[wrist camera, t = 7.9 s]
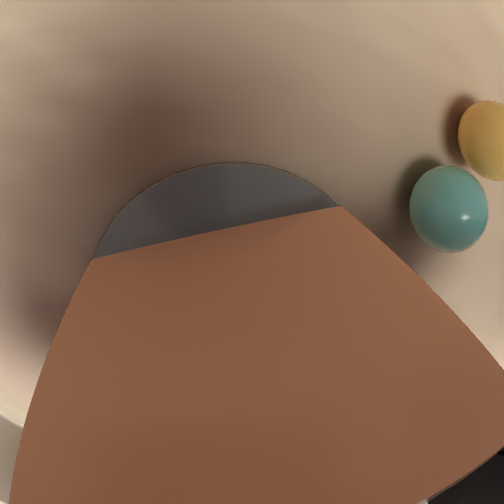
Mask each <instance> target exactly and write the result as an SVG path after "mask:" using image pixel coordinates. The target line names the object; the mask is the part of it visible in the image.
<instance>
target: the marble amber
mask: <svg viewBox="0 0 504 504" xmlns="http://www.w3.org/2000/svg"><path fill="white" fill-rule="evenodd" d="M458 142H459V146H460V150H461V152H462V155H463V157H464V159H465V160H466V162H467V163H468V165H469V166H470V167H471V168H472V169H473V170H474V171H475V172H476V173H477V174H479V175H480V176H482V177H484V178H486V179H489V180H493V181H504V104H502V103H499V102H496V101H490V100H485V101H480V102H477V103H475V104H473V105H471V106H470V107H469V108H468V109H467V110H466V111H465V112H464V114H463V115H462V117H461V120H460V123H459V127H458Z"/></svg>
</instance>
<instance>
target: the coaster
mask: <svg viewBox="0 0 504 504" xmlns="http://www.w3.org/2000/svg"><path fill="white" fill-rule="evenodd" d="M336 206H338V205H337V204H336V203H335V202H334V201H333V200H332V199H331V198H330V197H329V196H328V195H326V194H325V193H324V192H323V191H321V190H320V189H318V188H317V187H315V186H314V185H313V184H311V183H310V182H308V181H307V180H304V179H302V178H300V177H298V176H296V175H294V174H292V173H289V172H287V171H284V170H280V169H277V168H273V167H270V166H265V165H259V164H252V163H217V164H210V165H203V166H198V167H194V168H191V169H187V170H184V171H181V172H177V173H175V174H173V175H171V176H169V177H166V178H164V179H162V180H160V181H158V182H156V183H154V184H153V185H151V186H150V187H148V188H147V189H145V190H144V191H142V192H141V193H139V194H138V195H137V196H135V197H134V198H133V199H132V200H131V201H130V202H129V203H128V204H127V205H125V206H124V207H123V208H122V210H121V211H120V212H119V213H118V214H117V216H116V217H115V218H114V219H113V221H112V222H111V223H110V225H109V226H108V228H107V230H106V232H105V233H104V235H103V237H102V239H101V240H100V242H99V244H98V246H97V249H96V252H95V255H94V257H93V259H95V258H99V257H103V256H107V255H111V254H116V253H120V252H124V251H128V250H132V249H137V248H141V247H145V246H149V245H154V244H158V243H162V242H167V241H171V240H176V239H180V238H185V237H189V236H194V235H198V234H203V233H207V232H212V231H217V230H221V229H226V228H231V227H235V226H240V225H245V224H250V223H255V222H259V221H264V220H269V219H274V218H279V217H284V216H289V215H294V214H300V213H305V212H310V211H315V210H320V209H326V208H331V207H336Z"/></svg>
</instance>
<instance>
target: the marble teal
mask: <svg viewBox="0 0 504 504" xmlns="http://www.w3.org/2000/svg"><path fill="white" fill-rule="evenodd" d="M409 210H410V218H411V221H412V224H413V227H414V229H415V231H416V233H417V234H418V236H419V237H420V238H421V240H423V241H424V242H425V243H426V244H427V245H428V246H430V247H431V248H433V249H435V250H437V251H440V252H444V253H458V252H462V251H464V250H467V249H468V248H470V247H472V246H473V245H474V244H475V243H476V242H477V241H478V240H479V239H480V237H481V236H482V234H483V233H484V231H485V228H486V225H487V221H488V214H489V210H488V201H487V197H486V194H485V192H484V190H483V188H482V186H481V184H480V183H479V182H478V180H477V179H476V178H475V177H474V176H473V175H472V174H470V173H469V172H468V171H466V170H464V169H462V168H460V167H456V166H451V165H443V166H438V167H435V168H432V169H430V170H429V171H427V172H426V173H424V174H423V175H422V176H421V177H420V178H419V180H418V181H417V182H416V184H415V186H414V188H413V190H412V193H411V197H410V203H409Z"/></svg>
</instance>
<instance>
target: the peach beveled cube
mask: <svg viewBox="0 0 504 504" xmlns="http://www.w3.org/2000/svg"><path fill="white" fill-rule="evenodd" d="M503 447H504V370H503V369H502V367H501V366H500V365H499V364H498V362H497V361H496V360H495V359H494V358H493V356H492V355H491V354H490V353H489V352H488V350H487V349H486V348H485V347H484V346H483V344H482V343H481V342H480V341H479V340H478V339H477V337H476V336H475V335H474V334H473V333H472V332H471V331H470V329H469V328H468V327H467V326H466V325H465V324H464V323H463V322H462V321H461V319H460V318H459V317H458V316H457V315H456V314H455V313H454V312H453V311H452V310H451V309H450V308H449V306H448V305H447V304H446V303H445V302H444V301H443V300H442V299H441V298H440V297H439V296H438V295H437V294H436V293H435V292H434V291H433V290H432V289H431V288H430V287H429V286H428V285H427V284H426V283H425V282H424V281H423V280H422V279H421V278H420V277H419V276H418V275H417V274H416V273H415V272H414V271H413V270H412V269H411V268H410V267H409V266H408V265H407V264H406V263H405V262H404V261H403V260H402V259H401V258H400V257H399V256H397V255H396V254H395V253H394V252H393V251H392V250H391V249H390V248H389V247H388V246H387V245H386V244H385V243H383V242H382V241H381V240H380V239H379V238H378V237H377V236H376V235H375V234H373V233H372V232H371V231H370V230H369V229H368V228H367V227H366V226H364V225H363V224H362V223H361V222H360V221H359V220H358V219H356V218H355V217H354V216H353V215H352V214H351V213H349V212H348V211H347V210H346V209H345V208H343V207H342V206H336V207H331V208H326V209H320V210H315V211H310V212H305V213H300V214H294V215H289V216H284V217H279V218H274V219H269V220H264V221H259V222H255V223H250V224H245V225H240V226H235V227H231V228H226V229H221V230H217V231H212V232H207V233H203V234H198V235H194V236H189V237H185V238H180V239H176V240H171V241H167V242H162V243H158V244H154V245H149V246H145V247H141V248H137V249H132V250H128V251H124V252H120V253H116V254H111V255H107V256H103V257H99V258H95V259H91V261H90V263H89V265H88V267H87V269H86V270H85V272H84V274H83V276H82V278H81V280H80V282H79V284H78V286H77V288H76V290H75V292H74V294H73V297H72V299H71V301H70V303H69V305H68V307H67V309H66V312H65V314H64V316H63V318H62V321H61V323H60V325H59V327H58V330H57V332H56V335H55V337H54V339H53V342H52V344H51V347H50V349H49V352H48V354H47V357H46V360H45V362H44V365H43V368H42V370H41V373H40V376H39V379H38V382H37V385H36V388H35V391H34V394H33V397H32V400H31V403H30V407H29V410H28V413H27V417H26V421H25V424H24V428H23V432H22V436H21V440H20V444H19V448H18V453H17V457H16V462H15V467H14V473H13V478H12V485H11V491H10V498H9V504H425V503H426V502H428V501H430V500H432V499H433V498H435V497H437V496H438V495H440V494H441V493H443V492H445V491H446V490H448V489H449V488H451V487H452V486H454V485H455V484H457V483H458V482H460V481H461V480H463V479H464V478H465V477H467V476H468V475H470V474H471V473H472V472H474V471H475V470H476V469H478V468H479V467H480V466H481V465H483V464H484V463H485V462H487V461H488V460H489V459H490V458H491V457H493V456H494V455H495V454H496V453H497V452H499V451H500V450H501V449H502V448H503Z"/></svg>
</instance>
